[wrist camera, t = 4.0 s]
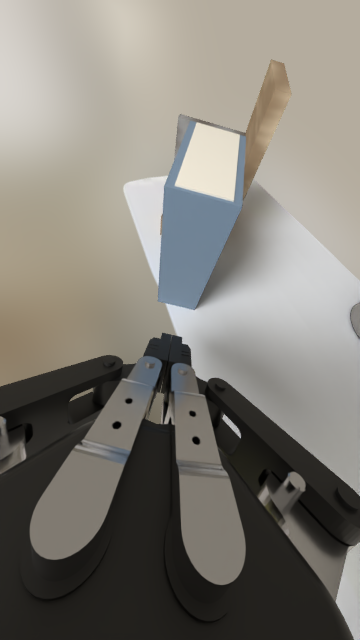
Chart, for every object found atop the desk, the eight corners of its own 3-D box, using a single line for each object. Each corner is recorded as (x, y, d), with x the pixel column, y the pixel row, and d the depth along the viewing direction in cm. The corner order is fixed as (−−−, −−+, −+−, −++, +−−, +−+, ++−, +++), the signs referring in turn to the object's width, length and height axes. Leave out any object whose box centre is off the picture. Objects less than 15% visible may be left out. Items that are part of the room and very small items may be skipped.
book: (203, 255, 28) (246, 134, 15) (194, 309, 24) (243, 205, 11) (173, 247, 28) (190, 118, 15) (157, 301, 24) (164, 184, 11)
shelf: (228, 205, 34) (283, 63, 20) (223, 250, 29) (293, 102, 15) (172, 190, 34) (187, 33, 19) (157, 233, 28) (162, 62, 14)
